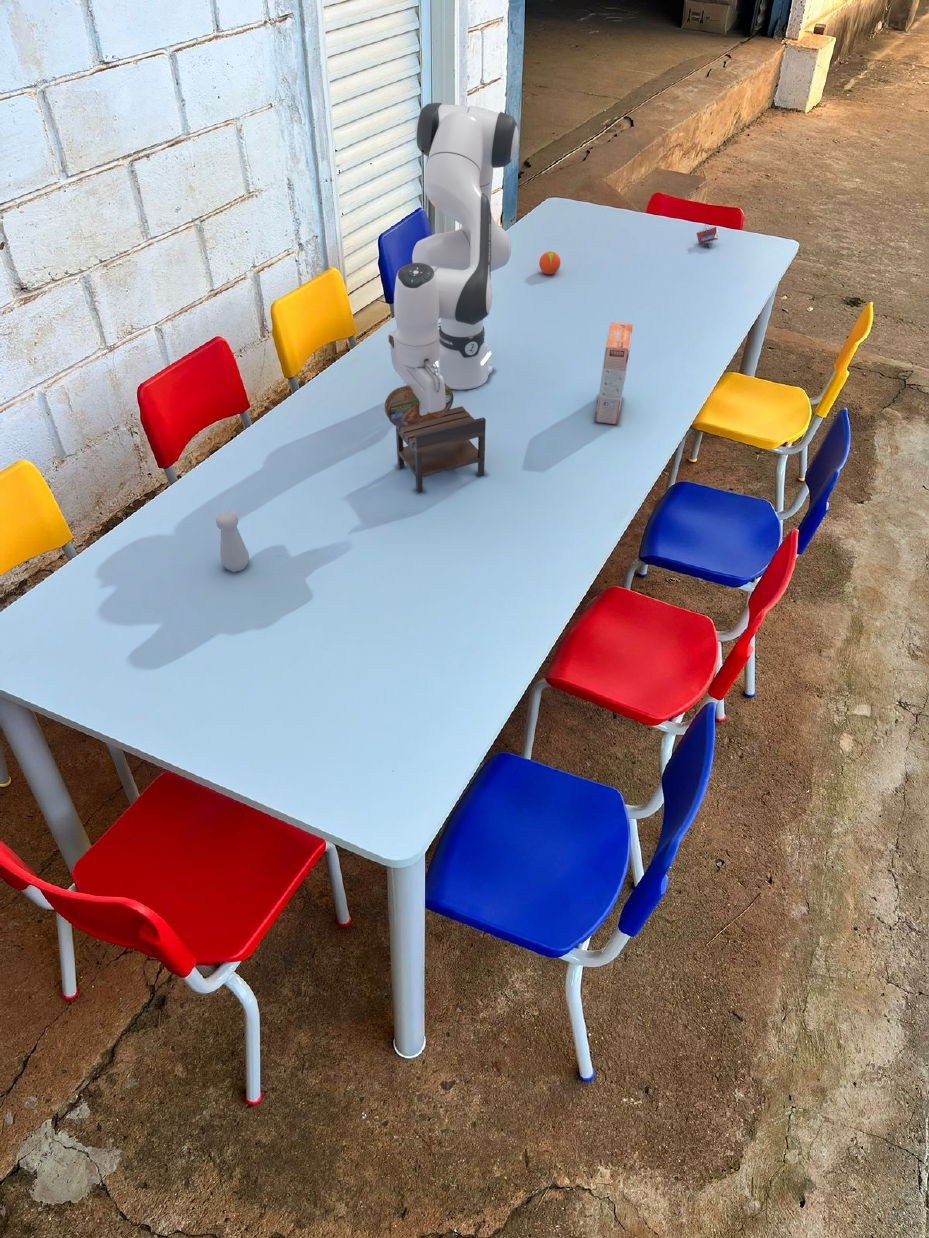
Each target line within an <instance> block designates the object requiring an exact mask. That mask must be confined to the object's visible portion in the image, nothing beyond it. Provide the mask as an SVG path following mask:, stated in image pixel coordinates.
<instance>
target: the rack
mask: <svg viewBox="0 0 929 1238" xmlns="http://www.w3.org/2000/svg"><path fill="white" fill-rule="evenodd" d="M486 421H487V419H486V418H485V417H483V416H482V417H479V418H474V417H473V415H471V414H470V413H469V412H468V411H467V409H466V408H464V406H457V407H453V408H450V410H449V411H448V412H447V413H446V414H445V415H444V416H442V417H441V418H438V419H435V420H431V421H427V422H423V423H419V424H415V425H411V426H408V427H398V426H395V436H396V440H395V441H396V458H397V468H398V469H399V470H401V469H405V464H406V466H407V467H408V469H410V471H411V472H412V474H413V475H414V476H415V490H416V491H415V492H417V494H421V493H423V492H424V481H423V479H424V478H425V477H430V476H433V475H437V474H440V473H444V472H447V471H452V470H456V469H459V468H463V467H467V466H470V465H474V464H477V475H478V476H479V477H482V476H485V460H486V459H485V458H486V457H485V455H486V429H487V428H486V425H487V423H486ZM476 438H477V442H478V443H477V447H476V446H475V445H474V443H473V442H472V441H471V440H473V439H476ZM404 443H405V444H406V446H404Z"/></svg>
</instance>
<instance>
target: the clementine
mask: <svg viewBox="0 0 929 1238" xmlns="http://www.w3.org/2000/svg"><path fill="white" fill-rule="evenodd" d="M538 264H539V268H540V270H541V272H542V273H544V274H546V275H553V274H555V273H557V272H558V271H559V270H560V268H561V258H560V256H559V254H557V253H556V252H555V251H546V252H544V253H543V254H541V256H540V258H539V262H538Z"/></svg>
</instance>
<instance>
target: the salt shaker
mask: <svg viewBox="0 0 929 1238" xmlns="http://www.w3.org/2000/svg"><path fill="white" fill-rule="evenodd" d="M215 524H216V527H217V528H218V529H219V530H220V545H219V546H220V547H219V548H220V550H219V551H220V552H219V553H220V555H219V558H220V562H221V564H222V565H223V566H224V568H226V570H228V571H229V572H233V573H236V572H241V571H244V569H245V568H246V567H247V566H248V562H249V560H250V555H249V551H248V549H247V547H246V545H245V543H244V541H243V538H242V536H241V533H240V531H239V529H238V527H237V526H238V524H239V518H238V515H237V514H236V513H235V512H233V511H230V510H224V511H221V512H219V513H218V514H217V515H216V517H215Z"/></svg>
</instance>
